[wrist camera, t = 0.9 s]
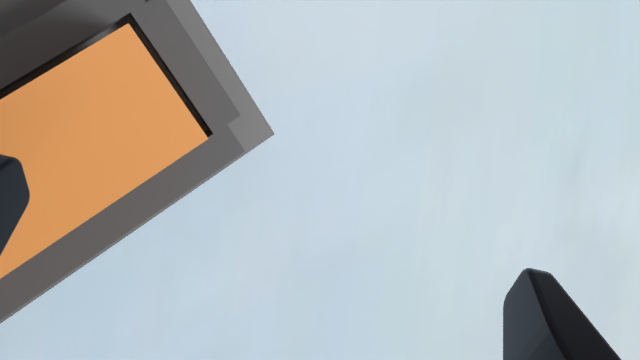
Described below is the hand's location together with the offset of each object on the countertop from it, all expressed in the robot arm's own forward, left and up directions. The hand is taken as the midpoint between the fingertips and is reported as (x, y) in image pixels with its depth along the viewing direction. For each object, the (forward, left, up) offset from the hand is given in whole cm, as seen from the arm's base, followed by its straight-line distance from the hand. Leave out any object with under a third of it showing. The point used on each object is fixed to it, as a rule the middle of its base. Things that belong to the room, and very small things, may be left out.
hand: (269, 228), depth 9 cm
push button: (-5, +2, -10) cm, 11 cm away
